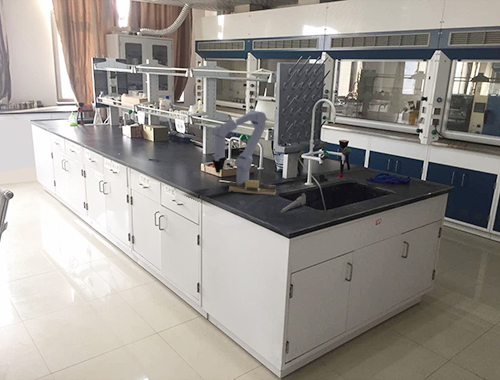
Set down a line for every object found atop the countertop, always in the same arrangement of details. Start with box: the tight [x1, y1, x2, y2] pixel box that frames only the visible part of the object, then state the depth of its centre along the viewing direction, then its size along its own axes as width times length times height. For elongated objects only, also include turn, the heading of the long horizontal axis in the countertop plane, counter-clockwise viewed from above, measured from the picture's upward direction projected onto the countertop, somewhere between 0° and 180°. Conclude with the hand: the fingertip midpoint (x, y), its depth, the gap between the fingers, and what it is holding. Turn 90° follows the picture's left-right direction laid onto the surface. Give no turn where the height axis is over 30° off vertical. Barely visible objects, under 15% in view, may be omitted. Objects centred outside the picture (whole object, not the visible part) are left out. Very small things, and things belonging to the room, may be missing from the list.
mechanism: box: [227, 181, 277, 196], centre depth 231 cm, size 7×26×5 cm, turn 81°
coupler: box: [245, 179, 260, 191], centre depth 231 cm, size 4×7×5 cm, turn 81°
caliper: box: [280, 192, 307, 214], centre depth 205 cm, size 20×1×6 cm, turn 140°
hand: (219, 171), depth 236 cm, fingers open, 7 cm apart
